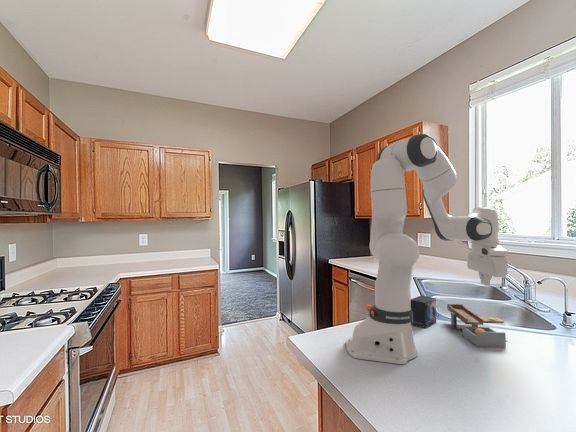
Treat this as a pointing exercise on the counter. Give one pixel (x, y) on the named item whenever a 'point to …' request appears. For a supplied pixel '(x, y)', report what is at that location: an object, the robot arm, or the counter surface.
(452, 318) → the stand
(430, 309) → the small box
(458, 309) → the brown wooden tray
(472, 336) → the bin
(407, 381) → the counter surface
